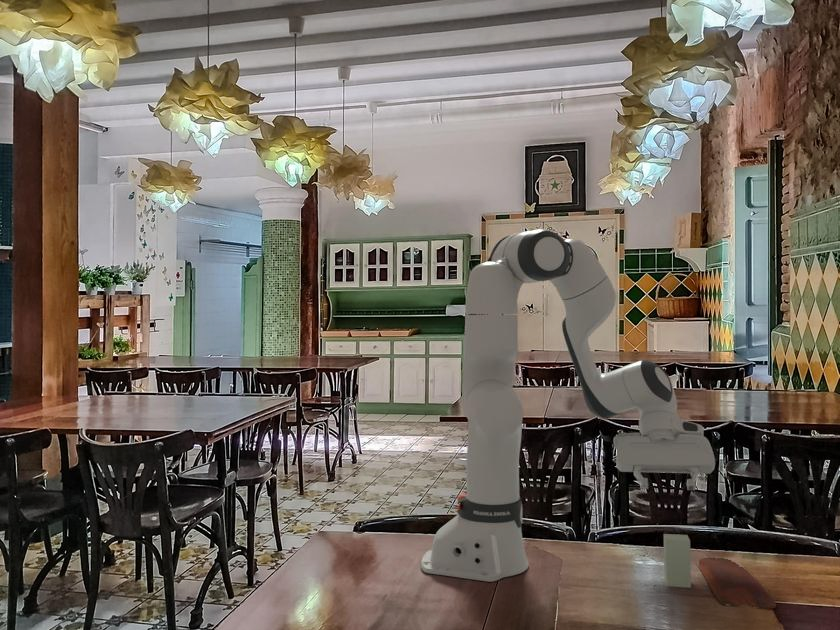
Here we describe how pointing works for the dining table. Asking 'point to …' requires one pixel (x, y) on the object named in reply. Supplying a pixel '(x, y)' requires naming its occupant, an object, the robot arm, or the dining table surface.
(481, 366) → the robot arm
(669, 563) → the sage card box
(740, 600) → the wooden tablet
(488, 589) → the dining table surface
